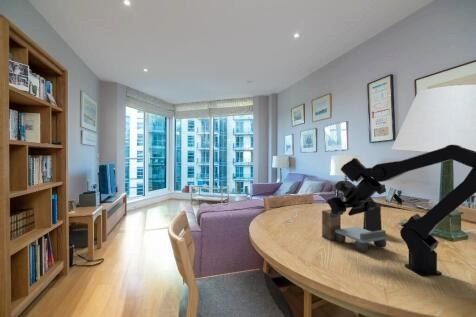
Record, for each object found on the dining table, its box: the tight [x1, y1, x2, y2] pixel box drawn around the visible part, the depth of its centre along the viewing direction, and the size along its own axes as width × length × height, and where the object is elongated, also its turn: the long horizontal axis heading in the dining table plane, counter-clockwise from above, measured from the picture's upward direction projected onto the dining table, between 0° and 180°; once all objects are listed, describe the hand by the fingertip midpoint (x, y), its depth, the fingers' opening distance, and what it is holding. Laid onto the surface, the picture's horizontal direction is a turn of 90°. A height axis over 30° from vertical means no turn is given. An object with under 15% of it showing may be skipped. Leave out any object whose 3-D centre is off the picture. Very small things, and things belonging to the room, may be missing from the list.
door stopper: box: [362, 204, 383, 232], centre depth 107 cm, size 9×6×12 cm, turn 160°
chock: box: [321, 209, 342, 242], centre depth 101 cm, size 5×5×11 cm
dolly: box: [335, 226, 387, 253], centre depth 93 cm, size 14×11×6 cm
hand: (339, 215), depth 96 cm, fingers open, 9 cm apart
